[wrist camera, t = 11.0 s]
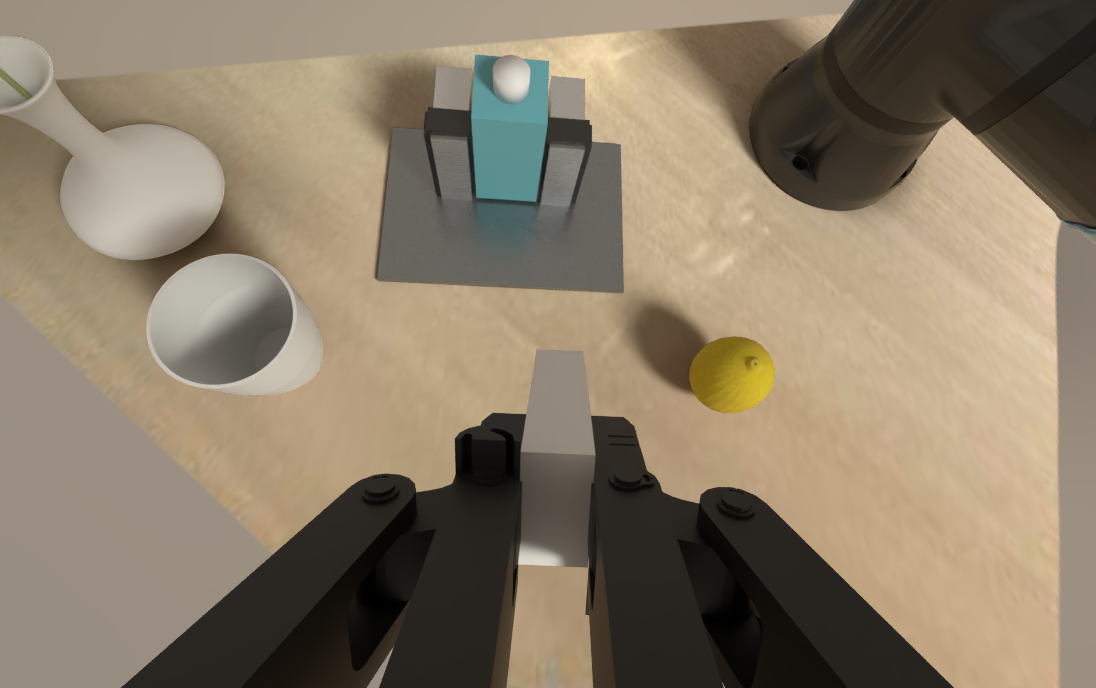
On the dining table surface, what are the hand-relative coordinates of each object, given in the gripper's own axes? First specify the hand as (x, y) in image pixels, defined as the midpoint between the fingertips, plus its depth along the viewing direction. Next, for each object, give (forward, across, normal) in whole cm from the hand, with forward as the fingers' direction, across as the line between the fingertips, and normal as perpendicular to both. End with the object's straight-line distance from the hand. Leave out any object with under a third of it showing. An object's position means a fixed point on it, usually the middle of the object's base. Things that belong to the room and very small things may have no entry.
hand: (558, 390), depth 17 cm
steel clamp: (+30, -5, +4) cm, 31 cm away
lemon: (+24, +12, -9) cm, 29 cm away
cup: (+21, -20, -7) cm, 30 cm away
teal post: (+32, -5, +7) cm, 33 cm away
